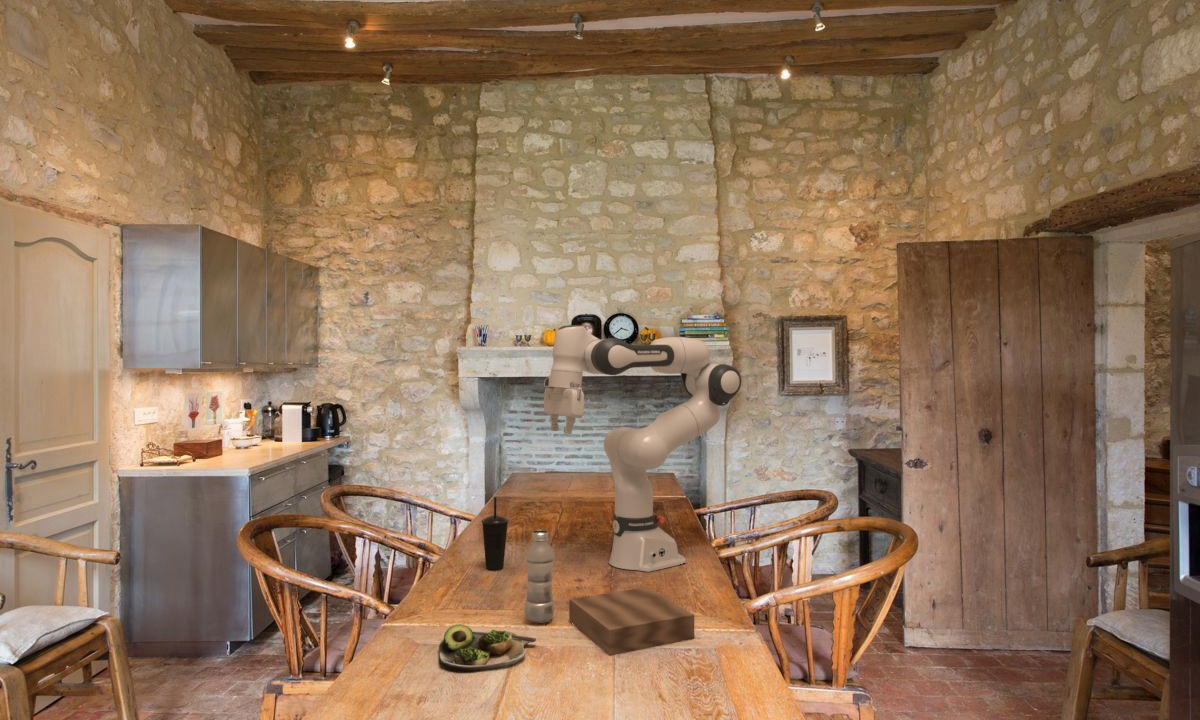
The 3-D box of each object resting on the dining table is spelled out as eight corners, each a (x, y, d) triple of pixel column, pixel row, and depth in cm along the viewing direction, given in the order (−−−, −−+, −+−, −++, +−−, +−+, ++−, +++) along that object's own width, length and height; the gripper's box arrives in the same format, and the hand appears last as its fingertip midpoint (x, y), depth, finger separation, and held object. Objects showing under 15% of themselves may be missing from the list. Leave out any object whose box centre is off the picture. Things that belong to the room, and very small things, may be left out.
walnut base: (646, 608, 164) (647, 587, 164) (694, 638, 146) (694, 614, 146) (569, 621, 155) (569, 599, 155) (609, 655, 137) (609, 630, 137)
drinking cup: (513, 566, 197) (513, 495, 197) (500, 573, 190) (501, 500, 190) (489, 563, 200) (489, 494, 200) (475, 570, 192) (476, 498, 193)
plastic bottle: (524, 616, 158) (525, 528, 158) (554, 615, 158) (554, 528, 159) (523, 627, 151) (524, 535, 152) (554, 626, 152) (555, 535, 152)
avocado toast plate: (531, 632, 149) (531, 611, 149) (543, 668, 132) (543, 644, 132) (438, 640, 145) (439, 618, 145) (438, 678, 127) (438, 653, 127)
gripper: (591, 384, 184) (586, 436, 183) (562, 382, 202) (557, 429, 201) (570, 382, 181) (565, 435, 180) (542, 380, 199) (537, 428, 199)
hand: (560, 432), depth 191 cm, fingers open, 8 cm apart
